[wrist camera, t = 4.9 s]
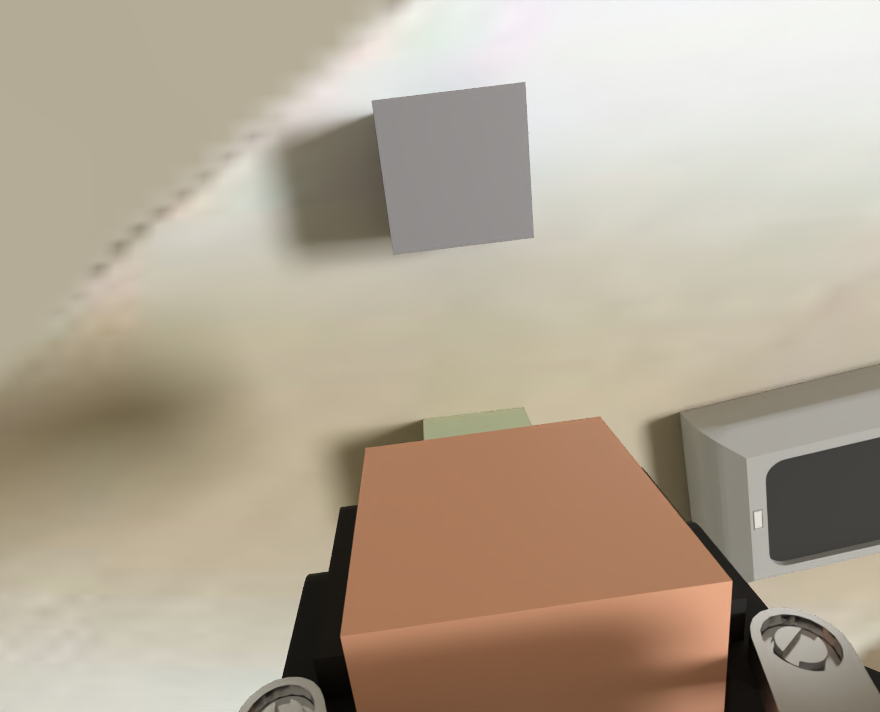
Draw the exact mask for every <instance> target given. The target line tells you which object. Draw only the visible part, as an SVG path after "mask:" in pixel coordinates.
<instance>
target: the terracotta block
mask: <svg viewBox="0 0 880 712" xmlns="http://www.w3.org/2000/svg"><path fill="white" fill-rule="evenodd" d="M732 582H733V581H732V580H731V578H730V577H729V576H728V575H727V573H726V572H725V571H724V570H723V568H722V567H721V566H720V565H719V563H718V562H717V561H716V560H715V559H714V557H713V556H712V555H711V554H710V552H709V551H708V550H707V549H706V547H705V546H704V545H703V544H702V542H701V541H700V540H699V539H698V537H697V536H696V535H695V534H694V532H693V531H692V530H691V529H690V528H689V526H688V525H687V524H686V523H685V521H684V520H683V519H682V518H681V516H680V515H679V514H678V513H677V511H676V510H675V509H674V508H673V506H672V505H671V504H670V503H669V501H668V500H667V499H666V498H665V497H664V495H663V494H662V493H661V492H660V490H659V489H658V488H657V487H656V485H655V484H654V483H653V482H652V480H651V479H650V478H649V477H648V475H647V474H646V473H645V472H644V470H643V469H642V468H641V467H640V466H639V464H638V463H637V462H636V461H635V459H634V458H633V457H632V456H631V454H630V453H629V452H628V451H627V449H626V448H625V447H624V446H623V444H622V443H621V442H620V441H619V439H618V438H617V437H616V436H615V434H614V433H613V432H612V431H611V430H610V428H609V427H608V426H607V425H606V423H605V422H604V421H603V420H602V418H601V417H593V418H586V419H578V420H571V421H563V422H556V423H548V424H541V425H534V426H526V427H519V428H511V429H504V430H496V431H489V432H481V433H474V434H466V435H459V436H451V437H444V438H436V439H429V440H422V441H414V442H407V443H399V444H392V445H384V446H377V447H369V448H366V449H365V456H364V464H363V471H362V478H361V486H360V493H359V501H358V508H357V516H356V523H355V530H354V538H353V545H352V553H351V560H350V567H349V575H348V582H347V590H346V597H345V605H344V612H343V619H342V627H341V634H340V638H341V643H342V647H343V652H344V656H345V661H346V665H347V670H348V674H349V679H350V683H351V688H352V692H353V697H354V701H355V706H356V710H357V712H724V705H725V689H726V674H727V659H728V643H729V628H730V613H731V597H732Z"/></svg>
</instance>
